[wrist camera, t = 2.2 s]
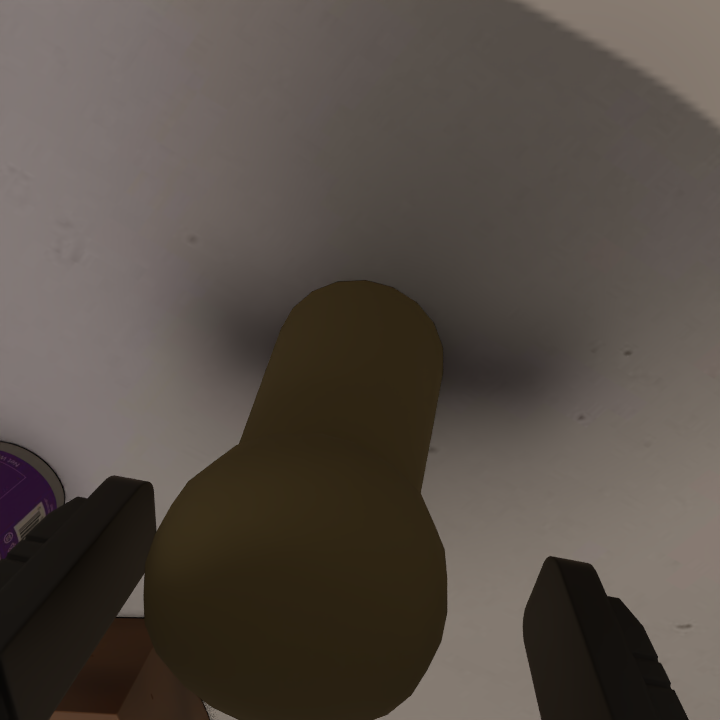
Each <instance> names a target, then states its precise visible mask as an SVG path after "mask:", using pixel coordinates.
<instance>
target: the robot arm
mask: <svg viewBox="0 0 720 720" xmlns="http://www.w3.org/2000/svg"><path fill="white" fill-rule="evenodd" d="M155 533H156V517H155V502H154V489H153V485H152V484H151V483H150V482H147V481H142V480H136V479H131V478H125V477H120V476H110V477H109V478H107V479H106V480H105V481H104V482H103V483H102V484H101V485H100V486H99V487H98V488H97V489H96V490H95V491H94V492H93V493H92V494H91V495H90V496H89V497H88V498H82V497H76V498H74V499H73V500H71V501H69V502H67V503H66V504H64V505H62V506H60V507H59V508H57V509H55V510H53V511H52V512H50V513H48V514H47V515H46V516H45V517H44V518H43V519H42V520H41V521H40V522H39V523H38V524H37V525H36V526H35V527H34V528H33V529H32V530H31V531H30V532H29V533H28V534H27V535H26V538H25V539H24V540H21V541H20V542H18V543H17V544H16V545H15V546H14V547H13V548H12V549H11V550H10V551H9V552H8V553H7V556H6V558H5V559H1V560H0V720H49V719H50V717H51V716H52V714H53V713H54V711H55V710H56V708H57V707H58V705H59V704H60V702H61V701H62V699H63V698H64V696H65V694H66V693H67V691H68V690H69V688H70V687H71V685H72V684H73V682H74V681H75V679H76V678H77V676H78V674H79V673H80V671H81V670H82V668H83V667H84V665H85V664H86V662H87V661H88V659H89V658H90V656H91V654H92V653H93V651H94V650H95V648H96V647H97V645H98V644H99V642H100V641H101V639H102V638H103V636H104V634H105V633H106V631H107V630H108V628H109V627H110V625H111V624H112V622H113V621H114V619H115V618H116V616H117V615H118V613H119V611H120V610H121V608H122V607H123V605H124V604H125V602H126V601H127V599H128V598H129V596H130V595H131V593H132V591H133V590H134V588H135V587H136V585H137V584H138V582H139V581H140V579H141V578H142V576H143V575H144V573H145V562H146V559H147V556H148V553H149V550H150V547H151V545H152V542H153V539H154V536H155ZM523 638H524V644H525V649H526V653H527V658H528V662H529V667H530V671H531V675H532V680H533V684H534V689H535V693H536V698H537V702H538V706H539V711H540V715H541V720H689V719H688V717H687V715H686V713H685V711H684V709H683V707H682V705H681V703H680V701H679V699H678V697H677V695H676V693H675V691H674V690H672V689H671V687H670V684H671V683H670V680H669V678H668V676H667V674H666V672H665V670H664V668H663V666H662V664H661V663H659V662H658V656H657V654H656V652H655V650H654V648H653V646H652V644H651V641H650V639H649V637H648V635H647V633H646V631H645V629H644V627H643V625H642V624H641V623H640V622H639V621H638V620H637V618H636V617H635V616H634V615H633V614H632V613H631V611H630V610H629V609H628V608H627V607H626V606H625V604H624V603H623V602H622V601H621V600H620V599H619V598H615V597H609V596H607V595H606V593H605V590H604V588H603V586H602V583H601V581H600V579H599V577H598V574H597V572H596V570H595V569H594V567H593V566H592V565H591V564H589V563H585V562H579V561H574V560H568V559H563V558H557V557H552V556H549V557H548V558H546V560H545V561H544V563H543V566H542V568H541V571H540V573H539V576H538V578H537V581H536V583H535V586H534V588H533V590H532V593H531V595H530V598H529V600H528V603H527V605H526V608H525V612H524V617H523Z"/></svg>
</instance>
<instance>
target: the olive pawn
mask: <svg viewBox="0 0 720 720" xmlns="http://www.w3.org/2000/svg"><path fill="white" fill-rule="evenodd" d="M442 375H443V347H442V344H441V341H440V339H439V336H438V333H437V330H436V328H435V325H434V323H433V322H432V321H431V319H430V318H429V317H428V316H427V314H426V313H425V312H424V311H423V310H422V308H421V307H420V306H419V305H418V303H417V302H415V301H414V300H412V299H410V298H409V297H407V296H406V295H404V294H403V293H401V292H399V291H398V290H396V289H395V288H393V287H389V286H385V285H382V284H378V283H374V282H370V281H367V280H361V281H341V282H336V283H333V284H330V285H328V286H325V287H323V288H320V289H317V290H315V291H312V292H311V293H310V294H309V295H308V296H307V297H305V298H304V299H303V300H302V301H301V302H299V303H298V304H297V305H296V306H295V307H294V308H293V309H292V311H291V312H290V314H289V316H288V318H287V319H286V321H285V323H284V324H283V326H282V328H281V330H280V333H279V335H278V338H277V341H276V344H275V346H274V349H273V352H272V355H271V357H270V360H269V363H268V366H267V368H266V371H265V374H264V377H263V379H262V382H261V385H260V387H259V390H258V393H257V396H256V398H255V401H254V404H253V407H252V409H251V412H250V415H249V418H248V420H247V423H246V426H245V429H244V431H243V434H242V437H241V440H240V442H239V444H238V445H236V446H235V447H233V448H232V449H231V450H229V451H228V452H227V453H225V454H224V455H222V456H221V457H220V458H218V459H217V460H216V461H214V462H213V463H212V464H210V465H209V466H208V467H206V468H205V469H204V470H203V471H201V472H200V473H199V474H197V475H196V476H195V477H193V478H192V479H191V480H190V481H188V483H187V484H186V486H185V487H184V488H183V490H182V491H181V492H180V494H179V495H178V497H177V498H176V499H175V501H174V502H173V504H172V505H171V507H170V509H169V510H168V512H167V514H166V516H165V517H164V519H163V521H162V523H161V525H160V526H159V528H158V530H157V532H156V533H155V536H154V539H153V542H152V545H151V547H150V550H149V553H148V556H147V559H146V562H145V577H144V621H145V626H146V629H147V631H148V634H149V637H150V639H151V642H152V644H153V647H154V649H155V652H156V653H157V655H158V656H159V657H160V658H161V660H162V661H163V662H164V663H165V664H166V666H167V667H168V668H169V669H170V670H171V672H172V673H173V674H174V675H175V676H176V678H177V679H178V680H179V681H180V682H181V683H182V684H183V685H184V686H185V688H187V689H188V690H189V691H191V692H192V693H193V694H195V695H196V696H197V697H199V698H200V699H202V700H203V701H204V702H206V703H207V704H208V705H210V706H211V707H213V708H215V709H217V710H219V711H221V712H223V713H225V714H227V715H230V716H232V717H234V718H236V719H238V720H374V719H377V718H380V717H382V716H385V715H388V714H389V713H390V712H391V711H392V710H394V709H395V708H396V707H397V706H399V705H400V704H401V703H402V702H403V701H405V700H406V699H407V698H408V697H410V696H411V695H412V693H413V692H414V690H415V688H416V687H417V685H418V684H419V682H420V681H421V679H422V677H423V676H424V674H425V673H426V671H427V669H428V667H429V665H430V663H431V661H432V659H433V657H434V655H435V653H436V651H437V649H438V647H439V645H440V643H441V640H442V635H443V630H444V626H445V621H446V616H447V571H446V560H445V549H444V547H443V544H442V542H441V539H440V537H439V534H438V532H437V529H436V527H435V525H434V522H433V520H432V518H431V516H430V513H429V511H428V509H427V506H426V504H425V502H424V500H423V497H422V495H421V488H422V483H423V478H424V472H425V467H426V461H427V456H428V451H429V445H430V440H431V435H432V429H433V424H434V418H435V413H436V408H437V402H438V397H439V391H440V386H441V381H442Z"/></svg>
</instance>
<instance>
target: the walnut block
mask: <svg viewBox="0 0 720 720" xmlns="http://www.w3.org/2000/svg"><path fill="white" fill-rule="evenodd" d="M49 720H209V717H208V715H207V713H206V710H205V708H204V705H203V703H202V701H201V699H200V698H199V697H197V696H196V695H195V694H193V693H192V692H191V691H189V690H188V689H187V688H185V686H184V685H183V684H182V683H181V682H180V681H179V680H178V679H177V678H176V676H175V675H174V674H173V673H172V672H171V670H170V669H169V668H168V667H167V666H166V664H165V663H164V662H163V661H162V660H161V658H160V657H159V656H158V655H157V653H156V652H155V649H154V647H153V644H152V642H151V639H150V637H149V634H148V631H147V629H146V626H145V621H144V619H142V618H115V619H114V621H113V622H112V624H111V625H110V627H109V628H108V630H107V631H106V633H105V634H104V636H103V638H102V639H101V641H100V642H99V644H98V645H97V647H96V648H95V650H94V651H93V653H92V654H91V656H90V658H89V659H88V661H87V662H86V664H85V665H84V667H83V668H82V670H81V671H80V673H79V674H78V676H77V678H76V679H75V681H74V682H73V684H72V685H71V687H70V688H69V690H68V691H67V693H66V694H65V696H64V698H63V699H62V701H61V702H60V704H59V705H58V707H57V708H56V710H55V711H54V713H53V714H52V716H51V717H50V719H49Z"/></svg>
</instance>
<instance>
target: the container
mask: <svg viewBox="0 0 720 720" xmlns="http://www.w3.org/2000/svg"><path fill="white" fill-rule="evenodd" d="M62 505H64V493H63V489H62V486H61V484H60V482H59V480H58V478H57V476H56V475H55V474H54V472H53V471H52V470H51V469H50V468H49V467H48V466H47V464H45V463H44V462H43V461H42V460H41V459H40V458H38V457H37V456H35V455H34V454H32V453H31V452H29V451H27V450H25V449H23V448H21V447H18V446H15V445H12V444H8V443H3V442H0V560H1V559H5V558H6V556H7V553H8V552H9V551H10V550H11V549H12V548H13V547H14V546H15V545H16V544H17V543H18V542H20V541H21V540H24V539H25V538H26V535H27V534H28V533H29V532H30V531H31V530H32V529H33V528H34V527H35V526H36V525H37V524H38V523H39V522H40V521H41V520H42V519H43V518H44V517H45V516H46V515H47V514H48V513H50V512H52V511H53V510H55V509H57V508H59V507H60V506H62Z"/></svg>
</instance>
